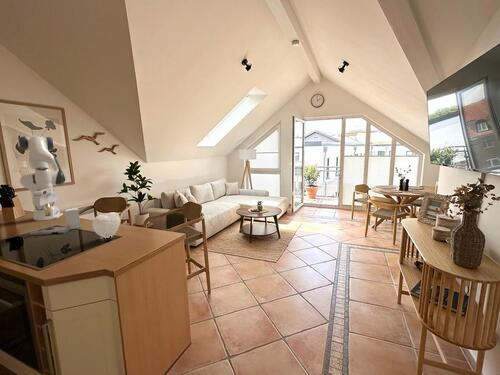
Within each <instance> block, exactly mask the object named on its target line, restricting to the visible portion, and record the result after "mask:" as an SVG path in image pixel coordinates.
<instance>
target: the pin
mask: <svg viewBox="0 0 500 375" xmlns="http://www.w3.org/2000/svg"><path fill="white" fill-rule="evenodd" d="M45 207H46V208H47V211H45V216H51V211H50V203H49V204H46V206H45Z"/></svg>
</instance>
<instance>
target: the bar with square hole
mask: <svg viewBox="0 0 500 375" xmlns="http://www.w3.org/2000/svg"><path fill="white" fill-rule="evenodd" d="M69 229H70V228H69V227H67V226H56V227H55V226H54V227H46V228H45V229H35V230H32V231H30V232H29V233H28V236H38V235H42V236H43V235H52V234H54V233H57V234H60V233H62V234H66V233H68V232H70V230H69Z"/></svg>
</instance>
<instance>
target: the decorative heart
mask: <svg viewBox="0 0 500 375" xmlns="http://www.w3.org/2000/svg"><path fill="white" fill-rule="evenodd" d="M91 224H92V229H93V231H94V233H96V235H98V236H99V237H100V240H101V239H102V240H103V239H104V238H105V239H106V238H109V237H110V236H111V238H113V237H114V236H115V234H116V232H118V229H119V228H120V224H121V216H120V215H119V214H118V213H117V212H114V211H113V212H108V213H106V214H105V215H104V214H100V215H99V214H98V215H97V216H95V217H94V218H93V220H92V222H91ZM113 235H114V236H113Z"/></svg>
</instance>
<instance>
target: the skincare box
mask: <svg viewBox="0 0 500 375" xmlns="http://www.w3.org/2000/svg"><path fill="white" fill-rule="evenodd" d="M64 214H65V220H66V227H69V228H70V229H69V231H70V230H75V229H81V219H80V212H79V208H78V207H74V208H70V209H64Z"/></svg>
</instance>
